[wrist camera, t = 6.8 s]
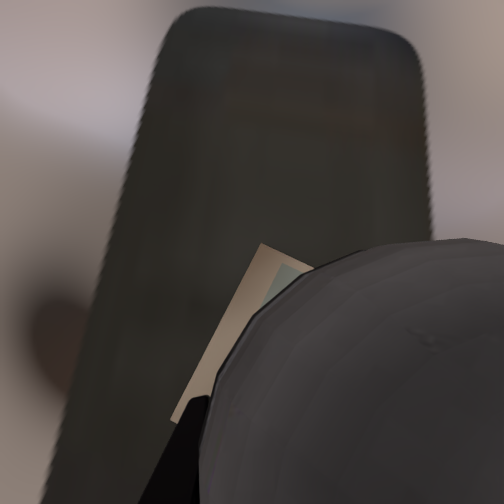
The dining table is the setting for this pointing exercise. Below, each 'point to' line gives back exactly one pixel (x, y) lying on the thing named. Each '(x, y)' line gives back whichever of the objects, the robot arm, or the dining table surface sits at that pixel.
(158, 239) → the dining table surface
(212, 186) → the dining table surface
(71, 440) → the dining table surface
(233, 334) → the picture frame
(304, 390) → the beverage cup
